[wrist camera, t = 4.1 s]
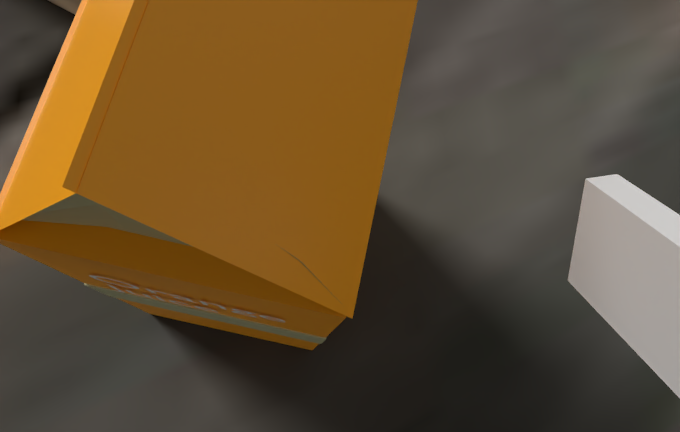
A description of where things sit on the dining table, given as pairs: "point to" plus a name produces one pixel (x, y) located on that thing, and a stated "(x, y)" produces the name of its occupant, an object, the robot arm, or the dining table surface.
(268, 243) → the orange juice
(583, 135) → the dining table surface
